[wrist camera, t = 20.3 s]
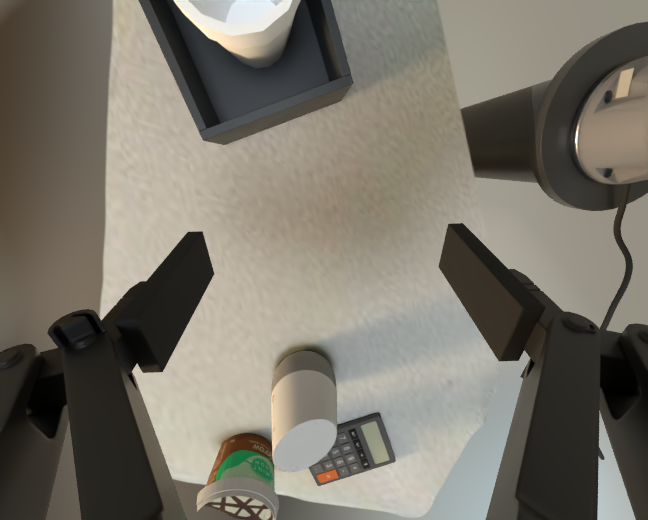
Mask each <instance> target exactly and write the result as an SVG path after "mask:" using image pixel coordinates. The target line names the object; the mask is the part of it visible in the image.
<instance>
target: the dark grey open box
mask: <svg viewBox="0 0 648 520" xmlns="http://www.w3.org/2000/svg"><path fill="white" fill-rule="evenodd" d="M139 2H140V4H141V6H142V9H143V11H144V13H145V15H146V17H147V20H148V22H149V24H150V26H151V28H152V30H153V33H154V35H155V37H156V39H157V41H158V43H159V46H160V48H161V50H162V52H163V54H164V57H165V59H166V61H167V63H168V65H169V67H170V70H171V72H172V74H173V76H174V78H175V80H176V83H177V85H178V87H179V89H180V91H181V94H182V96H183V98H184V100H185V102H186V104H187V107H188V109H189V111H190V113H191V115H192V117H193V120H194V122H195V124H196V126H197V128H198V131H199V133H200V135H201V137H202V139H203V140H204V141H208V142H213V143H218V144H222V145H226V144H228V143H231V142H233V141H236V140H239V139H241V138H244V137H247V136H249V135H252V134H255V133H257V132H260V131H263V130H265V129H268V128H270V127H273V126H276V125H278V124H281V123H284V122H286V121H289V120H292V119H294V118H297V117H300V116H302V115H305V114H307V113H310V112H313V111H315V110H318V109H321V108H323V107H326V106H329V105H331V104H334V103H337V102H339V101H341V100H342V98H343V97H344V96H345V94H346V93H347V91H348V90H349V89H350V87H351V86H352V84H353V80H352V77H351V73H350V69H349V65H348V62H347V58H346V54H345V51H344V47H343V43H342V40H341V36H340V32H339V29H338V25H337V21H336V18H335V14H334V10H333V7H332V3H331V0H301V1H300V3H299V5H298V7H297V10H296V12H295V16H294V20H293V24H292V27H291V31H290V35H289V39H288V42H287V45H286V47H285V50H284V52H283V54H282V56H281V58H280V59H279V60H277V61H276V62H275V63H274V64H273V65H271V66H269V67H263V68H255V67H252V66H249V65H246V64H244V63H242V62H241V61H240V60H239V59H237V58H236V57H235V56H234V55H233V54H231V53H230V52H229V51H228V50H227V49H225V48H224V47H223V46H222V45H221V44H219V43H218V42H217V41H214V40H212V39H209V38H208V37H207V36H206V35H205V34H204V33H203V32H202V31H201V30H200V29H199V28H198V27H197V26H196V25H195V24H194V23H193V22H192V21H190V20H189V19H188V18H187V17H186V16H185V15H184V14H183V12H182V11H181V10H180V8H179V7H178V6H177V5H176V3H175V2H174V1H173V0H139Z"/></svg>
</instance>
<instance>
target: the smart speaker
mask: <svg viewBox="0 0 648 520" xmlns="http://www.w3.org/2000/svg"><path fill="white" fill-rule="evenodd" d="M271 409H272V457H273V463H274V465H275V467H276V468H278V469H279V470H281V471H284V472H295V471H300V470H303V469H306V468H308V467H310V466H312V465H314V464H315V463H317V462H318V461H320V460H321V459H322V458H323V457H324V456H325V455H326V454H327V453H328V452H329V451H330V449H331V448H332V446H333V445H334V443H335V440H336V436H337V390H336V380H335V375H334V372H333V370H332V368H331V366H330V364H329V363H328V361H327V360H326V359H325V358H324V357H322V356H321V355H319V354H317V353H315V352H311V351H299V352H295V353H293V354H290V355H289V356H287V357H286V358H285V359H284V360H282V362H281V363H280V364H279V366H278V367H277V369H276V371H275V374H274V377H273V382H272V393H271Z"/></svg>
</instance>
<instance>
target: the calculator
mask: <svg viewBox="0 0 648 520" xmlns="http://www.w3.org/2000/svg"><path fill="white" fill-rule="evenodd" d="M395 461H396V460H395V457H394V454H393V451H392V448H391V445H390V442H389V439H388V436H387V433H386V430H385V428H384V425H383V422H382V419H381V416H380V414H379V413H376V414H373V415H370V416H367V417H364V418H360V419H357V420H354V421H351V422H348V423H345V424H342V425H339V426H337V436H336V440H335V443H334V445H333V446H332V448H331V449H330V451H329V452H328V453H327V454H326V455H325V456H324V457H323V458H322V459H321V460H320V461H318V462H317V463H315V464H314V465H312V466H310V467H309V469H310V471H311V473H312V475H313V477H314V479H315V481H316V483H317V485H318V486H321V485H324V484H327V483H330V482H333V481H337V480H340V479H343V478H346V477H349V476H352V475H355V474H359V473H362V472H365V471H368V470H371V469H374V468H377V467H381V466H384V465H387V464H390V463H393V462H395Z"/></svg>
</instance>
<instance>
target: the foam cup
mask: <svg viewBox="0 0 648 520" xmlns="http://www.w3.org/2000/svg"><path fill="white" fill-rule="evenodd" d="M173 1H174V2H175V3H176V5H177V6H178V7H179V8H180V10H181V11H182V12H183V14H184V15H185V16H186V17H187V18H188V19H189V20H190V21H192V22H193V23H194V24H195V25H196V26H197V27H198V28H199V29H200V30H201V31H202V32H203V33H204V34H205V35H206V36H207V37H208V38H209V39H212V40H214V41H217V42H218V43H219V44H221V45H222V46H223V47H224V48H225V49H227V50H228V51H229V52H230V53H231V54H233V55H234V56H235V57H236V58H237V59H239V60H240V61H241V62H242V63H244V64H246V65H249V66H252V67H255V68H263V67H269V66H271V65H273V64H274V63H275V62H276V61H277V60H279V59H280V58H281V56H282V54H283V52H284V50H285V47H286V45H287V42H288V39H289V35H290V31H291V27H292V24H293V20H294V16H295V12H296V10H297V7H298V5H299V3H300V1H301V0H173Z"/></svg>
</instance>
